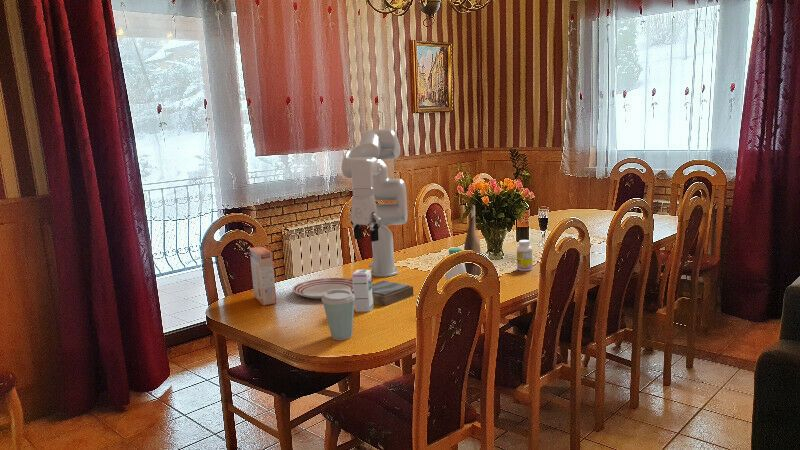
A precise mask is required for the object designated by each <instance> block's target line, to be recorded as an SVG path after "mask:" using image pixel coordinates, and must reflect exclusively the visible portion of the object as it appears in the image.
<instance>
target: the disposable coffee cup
mask: <svg viewBox="0 0 800 450" xmlns="http://www.w3.org/2000/svg"><path fill="white" fill-rule="evenodd" d="M354 300H355V295H354V292H351V291H349V290H345V289H331V290H328V291H326V292H324V294H323V297H322V299H321V303H322V304H323V308H324V312H325V316H326V320H327V324H328V328H329V332H330V336H331V337H332V339H333V340H336V341H344V340H348V339H350V338H352V336H353V331H354V315H355V314H354V313H355V302H354Z"/></svg>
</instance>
